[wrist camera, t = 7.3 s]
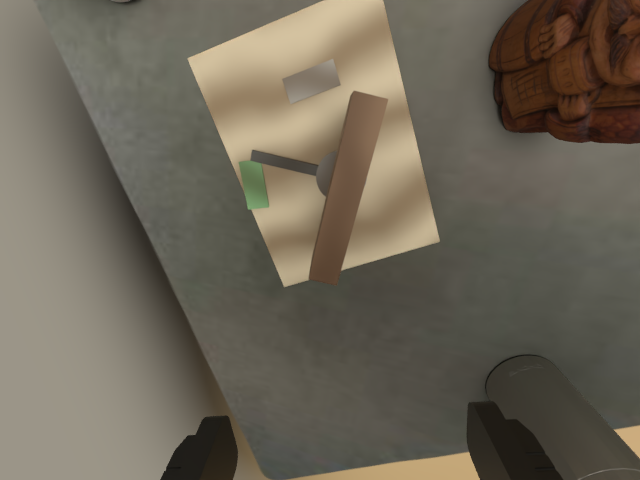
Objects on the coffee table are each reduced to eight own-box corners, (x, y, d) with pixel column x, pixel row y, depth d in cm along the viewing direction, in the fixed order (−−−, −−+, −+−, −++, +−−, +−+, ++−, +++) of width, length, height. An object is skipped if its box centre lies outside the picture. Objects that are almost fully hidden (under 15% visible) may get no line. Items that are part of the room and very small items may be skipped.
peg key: (384, 110, 27) (409, 104, 18) (348, 242, 31) (353, 289, 22) (263, 80, 26) (229, 59, 18) (243, 218, 30) (206, 256, 22)
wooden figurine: (480, 11, 29) (695, -153, 12) (556, -16, 28) (908, -237, 11) (497, 144, 32) (678, 166, 15) (564, 123, 31) (835, 123, 14)
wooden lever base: (425, 226, 35) (440, 242, 30) (288, 267, 38) (281, 288, 33) (370, 1, 29) (378, -24, 24) (207, 69, 31) (183, 59, 26)
